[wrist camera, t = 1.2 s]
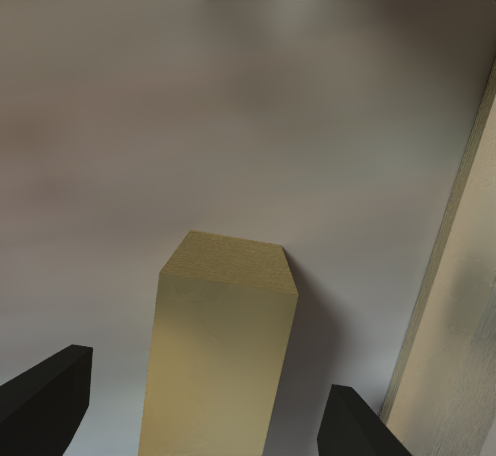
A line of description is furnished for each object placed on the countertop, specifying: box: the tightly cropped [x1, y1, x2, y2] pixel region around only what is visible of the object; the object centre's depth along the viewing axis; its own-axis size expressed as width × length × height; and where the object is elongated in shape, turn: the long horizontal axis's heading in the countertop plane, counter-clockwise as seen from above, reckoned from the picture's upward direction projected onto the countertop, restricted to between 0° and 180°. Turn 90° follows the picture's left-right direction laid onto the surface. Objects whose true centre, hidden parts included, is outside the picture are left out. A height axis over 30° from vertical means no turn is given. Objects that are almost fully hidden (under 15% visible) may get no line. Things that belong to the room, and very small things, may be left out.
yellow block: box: [138, 230, 299, 456], centre depth 11 cm, size 8×4×4 cm, turn 170°
